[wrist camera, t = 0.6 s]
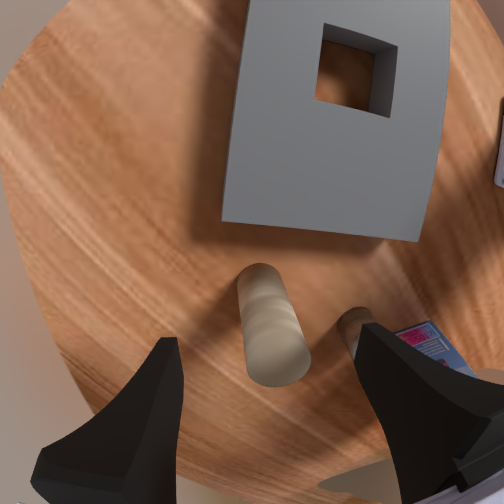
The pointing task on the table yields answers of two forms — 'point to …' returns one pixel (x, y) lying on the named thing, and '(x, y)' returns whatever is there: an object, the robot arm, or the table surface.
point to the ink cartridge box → (435, 346)
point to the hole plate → (337, 118)
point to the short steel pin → (353, 327)
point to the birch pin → (270, 328)
